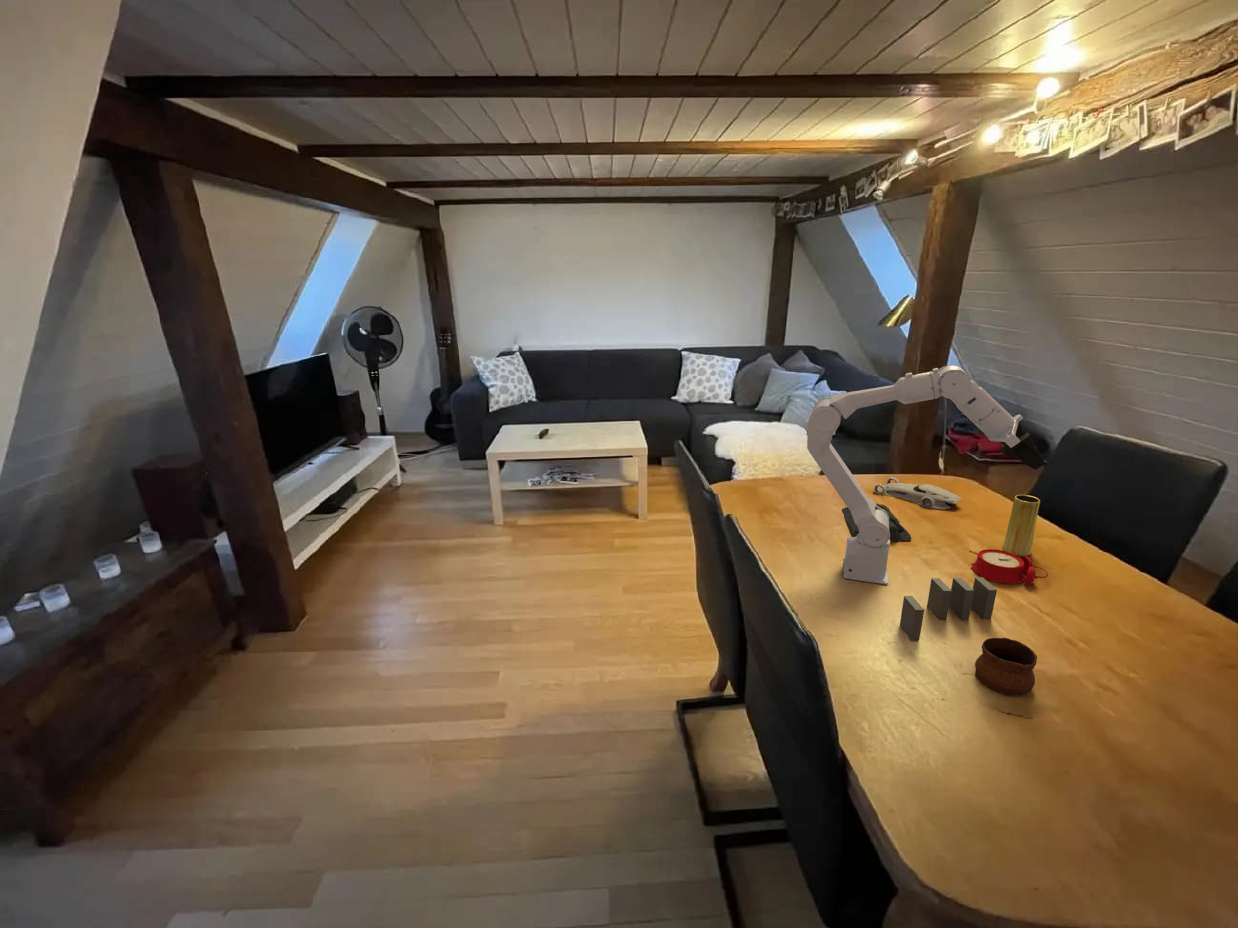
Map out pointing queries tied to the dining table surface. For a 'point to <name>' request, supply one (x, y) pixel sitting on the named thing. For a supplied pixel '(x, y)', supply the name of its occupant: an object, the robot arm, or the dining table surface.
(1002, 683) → the ceramic pot
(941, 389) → the robot arm
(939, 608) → the domino
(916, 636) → the loose domino
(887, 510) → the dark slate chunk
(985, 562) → the alarm clock
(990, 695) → the dining table surface
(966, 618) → the domino
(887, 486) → the car model
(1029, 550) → the vase
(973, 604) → the domino
